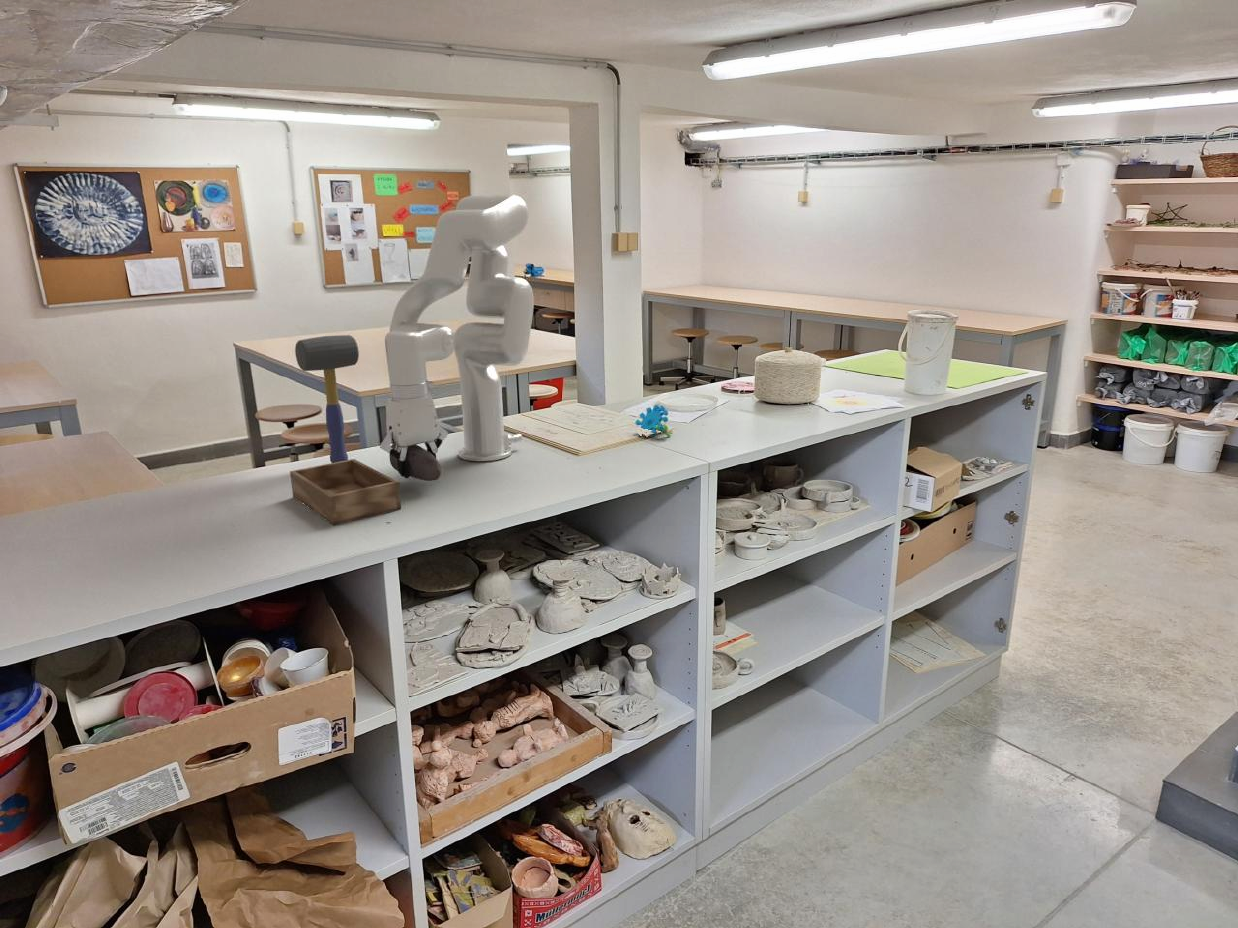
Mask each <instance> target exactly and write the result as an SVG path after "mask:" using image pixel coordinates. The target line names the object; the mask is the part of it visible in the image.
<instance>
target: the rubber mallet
mask: <svg viewBox="0 0 1238 928" xmlns="http://www.w3.org/2000/svg"><path fill="white" fill-rule="evenodd" d="M359 352H360V351H359V347H358V343H357V341H356V339H355V338H354V337H353V336H352V335H351V334H349V335H348V334H347V335H344V334H343V335H338V334H337V335H325V336H324V335H323V336H317V337H310V338H305V339H300V340H297V342H296V344H295V348H294V353H295V358H296V362H297V366H298V367H299V369H300V370H301V371H303V372H311V371H312V372H313V371H323V378H324V389H325V395H326V396H325V397H326V407H325V422H326V424H325V425H326V429H327V433H328V436H329V437H328V439H329V447H330V455H329V460H330V462H331V463H336V462H341V461H346V460H349V456H348V453H347V449H346V443H345V423H344V415H343V411H342V407H341V404H340V402H339V400H340V399H339V394H338V393H339V392H338V385H337V376H336V369H341V368H347V367H350V366H351V367H352V366H355V365H356V364H357V363H358V361H359V356H360V353H359ZM331 463H330V464H331Z"/></svg>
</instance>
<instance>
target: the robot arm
mask: <svg viewBox="0 0 1238 928" xmlns="http://www.w3.org/2000/svg"><path fill="white" fill-rule="evenodd" d="M528 222H529V209H528V205H527V203H526V201H524V199H523V198H522V197H520V196H518V195H517V194H478V195H477V194H474V195H469V196H465V197H463V198H461V199H460V200H459V201H458V202H457V205H456V208H455V210H449V211H446V212H444V213H443V214H441V216H439V218H438V221H437V224H436V228H435V231H434V235H433V237H432V242H431V246H430V250H429V252H428V256H427V257H428V258H427V261H426V265H425V270H424V272H423V273H422V275H421V276H420V277H419V278H418V279H416V280H415V281H414V283H413V284H411V285H410V287H408V289H407V290H406V291H405V292H404V294H402V296H401V297H400V299H399V300H398V302H397V304H396V306H395V308H394V311H393V313H392V314H393V315H392V319H391V322H390V326H389V331H388V332H387V333H386V334H385V337H384V344H385V346H384V347H385V355H386V364H387V370H388V380H389V389H390V397H389V398H387V402H386V410H385V411H386V412H385V413H386V415H385V416H386V417H385V420H386V421H385V425H386V436H385V437H384V438H383V440H382V442H381V443H380V445H379V448H380V449H382V450H383V451H385V452H386V453H388V454H389V455H390V454H391V455H392V456H394V457H395V458H396V459H397V465H398V471H397V472H398V474H399V475H400V476H401V477H403V478H404V479H406V480H407V479H410V474H409V465H408V460H406V459H405V457H406V452H407V447H408V446H412V445H420V444H421V445H422V444H424V445H425V447H426V450H427V451H428V452H430V453H431V454H432V455H433V456H434V457H435V458H436V459H437V453H438V451H439V448H440V446H441V445H442V444H443V441H445V439H446V438H447V436H449V433H448V431H447V430H446V429H444V428H443V426H441V425H440V424H439V419H438V415H437V409H436V406H435V402H434V399H433V396H432V394H431V393H430V389H431V388H434V383H433V381H432V380H430V381H429V380H428V376H427V367H426V365H427V362H436V361H443V360H446V359H447V358H450V357H451V356H452V354H453V353H454V354H455V358H456V359H455V360H456V362H457V366H458V367H457V368H458V372H459V373H458V374H459V381H460V382H459V383H460V396H461V411H462V414H461V415H462V424H463V425H462V428H463V440H464V441H463V442H464V447H461V448H460V449H459V450H458V457H459V458H460V459H462V460H465V461H470V462H471V461H472V462H493V461H497V460H502V459H505V458H508V457H510V455H512V448H511V447H510V445H512V444H513V443H519V442H523V441H522V440H523V436H522V434H521V433H517V434H511V433H509V434H508V433H505V429H504V428H505V425H504V409H503V389H502V388H503V387H502V380H501V377H500V374H499V372H498V370H497V369H496V367H495V366H501V367H503V366H505V367H516V366H518V365H520V364H522V363H523V362H524V360H525V359H526V357H527V353H528V349H529V343H530V336H531V332H532V331H531V329H532V322H533V315H534V305H535V298H534V292H533V288H532V285H531V284H530V283H529V281H527V279H525V278H522V277H519V276H508V267H509V254H508V253H507V250H506V248H505V246H504V245H505V244H507V243H509V242H510V241H512V240H513V239H514V238H516V237H518V236H519V235H520V234H521V233H522V232H523V231H524V230H525V229H526V226H527V224H528ZM470 260H471V261H470ZM469 263H470V267H469ZM468 267H469V276H468V282H467V290H466V301H465V302H466V303H465V304H466V309H467V311H468V312H469V313H470V315H472V316H475V317H478V318H487V319H503V323H494V322H479V321H475V322H467V323H463V324H461V325H460V326H459V327H458V328H457V329H455V332H454V331H453V330H452V329H451V328H450V327H448V326H446V325H443V324H438V323H426V322H425V323H424V322H422V323H421V322H419V319H420V317H421V316H422V314H423V313H424V311H426V309H428V307H430V306H431V305H432V304H434V303H436V302H438V301H439V300H441V299H443V298H446V297H448V296H450V295H452V294H454V293H455V292H458V291H459V290H460V289H461V288H463V286H464V284H465V279H466V275H467V272H468ZM392 444H396V448H395V450H394V449H393V448H391V447H390V446H391V445H392Z"/></svg>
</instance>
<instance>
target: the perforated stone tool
mask: <svg viewBox="0 0 1238 928" xmlns="http://www.w3.org/2000/svg"><path fill="white" fill-rule="evenodd" d="M390 447H391V448H393V449H394V450H395V448H396V444H392V443H391V444H390ZM388 458H389V463H390V466H391V467H392V468H393V469H394V470H396V471H397V472H398V465H397V459H396V458H395V457H394V456H392V455H391V454H389V457H388ZM405 459H406V460H408V465H409V474H410V477H411V478H414V479H417V480H422V481H426V482H427V481H428V482H433V481H437V480H439V478H441V475H442V468H441V465H440V462H439V461H438V460H437V457H436V458H435V457H434V456H433V455H432V454H431V453H430V452H428V451H427V449H425V448H424V447H422V446H420V445H419V444H417V445H412V446H408V447H407V452H406V457H405ZM410 477H409V478H410Z"/></svg>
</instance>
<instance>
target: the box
mask: <svg viewBox="0 0 1238 928" xmlns="http://www.w3.org/2000/svg"><path fill="white" fill-rule="evenodd" d="M289 475H290V480H291V481H290V482H291V489H292V490H291V491H292V497H293V498H294V499H295V498H296V499H297V500H296V499H295V500H296V501H298V502H299V501H300V502H299V503H301V502H302V503H304V504H305V505H306V506H308V507H309V508H310V510H311V509H312V510H313V512H314V511H315V512H316V513H315V512H314V513H315V514H317V515H318V514H319V515H320V516H319V515H318V516H319V517H321V518H323V519H324V520H325V519H326V520H325V521H326V522H328V523H329V522H330V523H329V524H331V525H332V524H333V526H335V525H336V524H337V525H341V524H345V523H349V522H353V521H356V520H357V519H358V520H362V519H365V518H369V517H373V516H378V515H382V514H387V513H392V512H394V511H398V510H401V509H402V505H401V494H400V484H399V481H397V480H396V479H393V478H391V477H390V476H388V475H386V474H384V473H383V472H380V471H379V470H376V469H374V468H372V467H370V466H368V465H367V464H365V463H362V462H361V461H359V460H356V459H355V458H353V459H352V458H351V459H348V460H346V461H341V462H336V463H326V464H322V465H316V466H312V467H306V468H300V469H295V470H291V471H289ZM302 503H301V504H302ZM304 504H303V505H304ZM305 505H304V506H305ZM306 506H305V507H306ZM308 507H307V508H308ZM309 508H308V509H309ZM312 510H311V511H312ZM361 518H362V519H361ZM340 523H341V524H340Z"/></svg>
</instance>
